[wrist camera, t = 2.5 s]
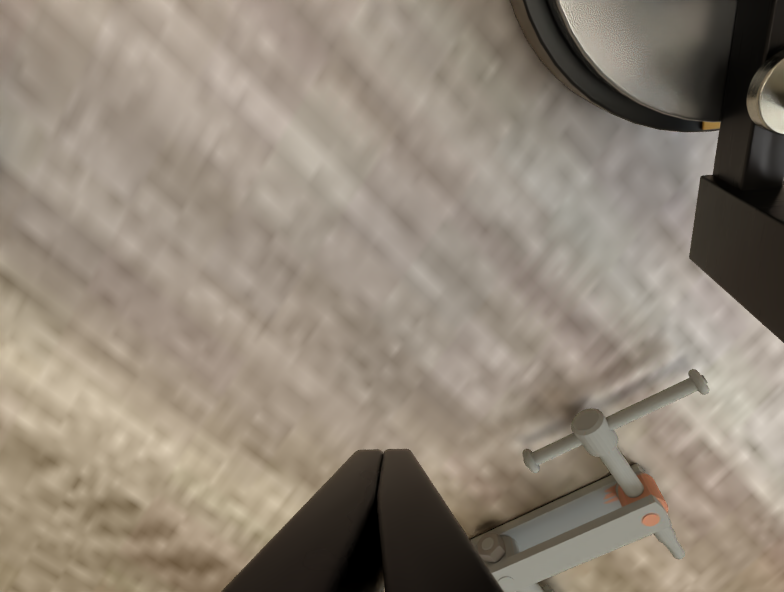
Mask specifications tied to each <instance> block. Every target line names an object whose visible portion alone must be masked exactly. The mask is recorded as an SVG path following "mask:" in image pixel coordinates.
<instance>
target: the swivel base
mask: <svg viewBox="0 0 784 592" xmlns="http://www.w3.org/2000/svg"><path fill="white" fill-rule="evenodd" d="M511 3H512V6H513V10H514V13H515V16H516V18H517V20H518V22H519V24H520V26H521V28H522V31H523V33H524V35H525V37H526V39H527V41H528V42H529V44H530V45H531V47H532V48H533V50H534V51H535V53H536V54H537V56H538V57H539V59H540V60H541V61H542V62H543V63H544V65H545V66H546V67H547V68H548V69H549V70H550V71H551V72H552V74H553V75H554V76H555V77H556V78H557V79H558V80H560V81H561V82H562V83H563V84H564V85H566V86H567V87H568V88H569V89H570V90H572V91H573V92H574V93H576V94H577V95H579V96H581V97H582V98H584V99H586V100H587V101H589V102H591V103H592V104H594V105H596V106H598V107H600V108H602V109H604V110H605V111H607V112H609V113H611V114H613V115H616V116H618V117H620V118H623V119H625V120H628V121H630V122H632V123H635V124H639V125H643V126H647V127H651V128H655V129H659V130H668V131H677V132H709V131H717V130H720V123H721V122H703V121H693V120H685V119H681V118H677V117H673V116H669V115H666V114H662V113H660V112H657V111H655V110H652V109H650V108H648V107H645V106H643V105H641V104H638V103H636V102H634V101H631V100H629V99H627V98H625V97H624V96H622V95H621V94H619V93H617V92H616V91H614V90H612V89H611V88H609V87H608V86H607V85H606V84H604V83H603V82H602V81H601V80H600V79H598V78H597V77H596V76H595V75H594V74H593V73H591V72H590V71H589V69H588V68H587V67H586V66H585V65H584V64H583V62H582V61H581V60H580V59H579V58H578V57H577V55H576V54H575V53H574V52H573V50H572V48H571V47H570V45H569V44H568V42H567V40H566V39H565V37H564V36H563V34H562V33H561V31H560V29H559V26H558V24H557V22H556V20H555V17H554V15H553V13H552V11H551V9H550V6H549V3H548V0H511Z"/></svg>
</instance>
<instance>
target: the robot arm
mask: <svg viewBox="0 0 784 592" xmlns="http://www.w3.org/2000/svg"><path fill="white" fill-rule="evenodd" d="M384 588H385V592H504V591H503V590H502V588H501V586H500V585H499V583H498V582H497V580H496V579H495V577H494V576H493V574H492V573H491V571H490V570H489V568H488V567H487V565H486V564H485V562H484V561H483V559H482V558H481V556H480V555H479V553H478V552H477V550H476V549H475V547H474V546H473V544H472V543H471V541H470V540H469V538H468V536H467V535H466V533H465V532H464V530H463V529H462V527H461V526H460V524H459V523H458V521H457V520H456V518H455V517H454V515H453V514H452V512H451V511H450V509H449V508H448V506H447V505H446V503H445V502H444V500H443V499H442V497H441V496H440V494H439V493H438V491H437V490H436V488H435V486H434V485H433V483H432V482H431V480H430V479H429V477H428V476H427V474H426V473H425V471H424V470H423V468H422V467H421V465H420V464H419V462H418V461H417V459H416V458H415V456H414V455H413V453H412V452H411V451H410V450H409V449H387V450H386V451H384V453H383V452H382V451H381V450H379V449H374V450H358V451H356V452H355V453H354V454H353V455H352V456H351V457H350V458H349V459H348V460H347V461H346V462H345V463H344V464H343V465H342V466H341V467H340V468H339V469H338V471H337V472H336V473H335V474H334V475H333V476H332V477H331V478H330V479H329V480H328V481H327V482H326V483H325V484H324V485H323V486H322V487H321V488H320V489H319V490H318V491H317V492H316V493H315V494H314V496H313V497H312V498H311V499H310V500H309V501H308V502H307V503H306V504H305V505H304V506H303V507H302V508H301V509H300V510H299V511H298V512H297V513H296V514H295V515H294V516H293V517H292V518H291V519H290V521H289V522H288V523H287V524H286V525H285V526H284V527H283V528H282V529H281V530H280V531H279V532H278V533H277V534H276V535H275V536H274V537H273V538H272V539H271V540H270V541H269V542H268V543H267V544H266V545H265V547H264V548H263V549H262V550H261V551H260V552H259V553H258V554H257V555H256V556H255V557H254V558H253V559H252V560H251V561H250V562H249V563H248V564H247V565H246V566H245V567H244V568H243V569H242V570H241V572H240V573H239V574H238V575H237V576H236V577H235V578H234V579H233V580H232V581H231V582H230V583H229V584H228V585H227V586H226V587H225V588H224V589H223V590H222V591H221V592H384Z"/></svg>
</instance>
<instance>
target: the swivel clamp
mask: <svg viewBox="0 0 784 592" xmlns="http://www.w3.org/2000/svg"><path fill="white" fill-rule="evenodd" d="M548 3H549V6H550V9H551V11H552V13H553V15H554V17H555V20H556V22H557V24H558V26H559V29H560V31H561V33H562V34H563V36H564V37H565V39H566V40H567V42H568V44H569V45H570V47H571V48H572V50H573V52H574V53H575V54H576V55H577V57H578V58H579V59H580V60H581V61H582V62H583V64H584V65H585V66H586V67H587V68H588V69H589V71H590V72H591V73H593V74H594V75H595V76H596V77H597V78H598V79H600V80H601V81H602V82H603V83H604V84H606V85H607V86H608V87H609V88H611V89H612V90H614V91H616V92H617V93H619V94H621V95H622V96H624V97H625V98H627V99H629V100H631V101H634V102H636V103H638V104H641V105H643V106H645V107H648V108H650V109H652V110H655V111H657V112H660V113H662V114H666V115H669V116H673V117H677V118H681V119H685V120H693V121H703V122H721V123H720V130H719V137H718V143H717V150H716V156H715V163H714V170H713V175H705V176H701V177H700V184H699V191H698V198H697V205H696V212H695V220H694V227H693V234H692V241H691V248H690V255H689V258H690V259H691V260H692V261H693V262H694V263H695V264H696V265H697V266H698V267H700V268H701V269H702V270H703V271H704V272H705V273H706V274H707V275H708V276H710V277H711V278H712V279H713V280H714V281H715V282H716V283H717V284H719V285H720V286H721V287H722V288H723V289H724V290H725V291H726V292H728V293H729V294H730V295H731V296H732V297H733V298H734V299H735V300H736V301H738V302H739V303H740V304H741V305H742V306H743V307H744V308H745V309H747V310H748V311H749V312H750V313H751V314H752V315H753V316H754V317H755V318H757V319H758V320H759V321H760V322H761V323H762V324H763V325H764V326H766V327H767V328H768V329H769V330H770V331H771V332H772V333H773V334H774V335H776V336H777V337H778V338H779V339H780V340H781V341H782V342H783V343H784V181H783V180H784V0H548Z"/></svg>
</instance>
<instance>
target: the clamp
mask: <svg viewBox="0 0 784 592" xmlns="http://www.w3.org/2000/svg"><path fill="white" fill-rule="evenodd" d="M688 374H689V377H690V378H688V379H686V380H684V381H682V382H680V383H678V384H676V385H673V386H671V387H669V388H667V389H665V390H663V391H661V392H659V393H657V394H655V395H652V396H650V397H648V398H646V399H644V400H642V401H640V402H638V403H636V404H634V405H631V406H629V407H627V408H625V409H623V410H621V411H619V412H617V413H615V414H612V415H610V416H608V417H606V418H605V416H604V415H603V414H602V412H601V411H599V410H598V409H586V410H583V411H581V412H579V413H578V414H577V415H576V416H575V417H574V419H573V421H572V423H571V429H572V431H573V432H574V433H573V434H570V435H568V436H566V437H564V438H562V439H560V440H558V441H556V442H554V443H551V444H549V445H547V446H545V447H543V448H541V449H539V450H537V451H535V452H532V451H531V450H530V449H525V450H524V451H523V458H524V463H525V465H526V466H527V467H528V468H529V469H530V471H531V472H533V473H537V472H539V470H540V466H539V465H540V464H542V463H544V462H546V461H548V460H550V459H553V458H555V457H557V456H559V455H561V454H563V453H565V452H568V451H570V450H572V449H574V448H576V447H578V446H580V445H583V446H584V448H585V449H586V451H587V452H588V453H589V454H590V455H592V456H596V457H600V459H601V460H602V461H603V463H604V464H605V466H606V467H607V469H608V470H609V471H610V473H611V474H612V475H610V476H608V477H606V478H604V479H601V480H599V481H597V482H595V483H593V484H591V485H588V486H586V487H584V488H582V489H580V490H578V491H575V492H573V493H571V494H569V495H567V496H565V497H562V498H560V499H558V500H556V501H554V502H552V503H549V504H547V505H545V506H543V507H541V508H538V509H536V510H534V511H532V512H530V513H528V514H525V515H523V516H521V517H519V518H517V519H515V520H512V521H510V522H508V523H506V524H504V525H502V526H499V527H497V528H495V529H493V530H491V531H489V532H486V533H484V534H482V535H480V536H478V537H476V538H473V539H471V540H470V541H471V543H472V544H473V546H474V547H475V549H476V550H477V552H478V553H479V555H480V556H481V558H482V559H483V561H484V562H485V564H486V565H487V567H488V568H489V570H490V571H491V573H492V574H493V576H494V577H495V579H496V580H497V582H498V583H499V585H500V586H501V588H502V590H503V591H504V592H554V591H553V590H552V589H551V587H550V586H549V585H545V586H543V587H540V586H539V585H538V582H540V581H542V580H545V579H547V578H549V577H552V576H554V575H557V574H559V573H561V572H564V571H566V570H568V569H571V568H573V567H576V566H578V565H580V564H583V563H585V562H587V561H590V560H592V559H595V558H597V557H599V556H602V555H604V554H606V553H609V552H611V551H614V550H616V549H618V548H621V547H623V546H625V545H628V544H630V543H633V542H635V541H637V540H640V539H642V538H644V537H647V536H649V535H652V534H654V535H655V536H656V538H657V539H658V541H660V542H661V543H663V544H664V545H665V546H666V547H667V548H668V549H669V551H670V552H671V554H672V555H673V557H674V558H676V559H682V558H683V557H684V556H685V551H684V550H683V548H682V547H681V545H680V544H679V542H678V541H677V538H676V536H675V531H674V530H673V528H672V527H671V526H672V525H671V521H670V519H669V516H668V514H667V512H668V506H667V504H666V502H665V500H664V498H663V496H662V494H661V492H660V490H659V488H658V487H657V485H656V483H655V481H654V479H653V478H652V477H651V476H649V475H648V474H646V473H645V471H644V470H643V469H642V468H641V467H640V466H638V465H637V464H634V465H632V466H630V465H629V464H628V462H627V461H626V460H625V458H624V457H623V455H622V454H621V452H620V451H619V449H618V448H617V444H618V436H617V434H616V433H615V431H614V430H615V429H617V428H619V427H621V426H623V425H625V424H628V423H630V422H632V421H634V420H636V419H638V418H640V417H643V416H645V415H647V414H649V413H651V412H653V411H656V410H658V409H660V408H662V407H664V406H666V405H668V404H671V403H673V402H675V401H677V400H679V399H681V398H683V397H686V396H688V395H690V394H692V393H694V392H696V391H699V392H700V393H701V394H703V395H706V394H708V393H709V388H708V386H707V381H706V379H705V378H704V376H703V375H700V373H699V372H698V371H697V370H695V369H692V370H690V371H689V373H688Z"/></svg>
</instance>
